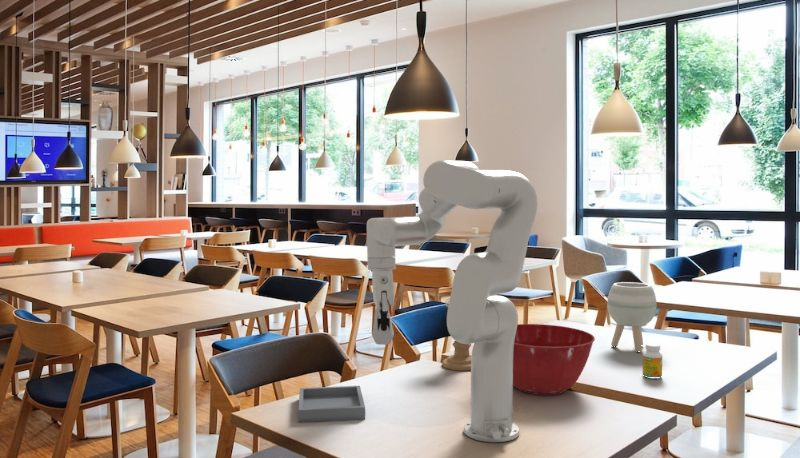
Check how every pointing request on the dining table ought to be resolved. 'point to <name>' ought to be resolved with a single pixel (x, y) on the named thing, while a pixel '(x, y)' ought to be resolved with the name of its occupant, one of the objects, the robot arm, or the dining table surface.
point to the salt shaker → (379, 335)
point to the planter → (631, 309)
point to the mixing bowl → (549, 357)
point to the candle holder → (458, 356)
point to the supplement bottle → (652, 361)
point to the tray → (331, 404)
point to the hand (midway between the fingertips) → (383, 331)
